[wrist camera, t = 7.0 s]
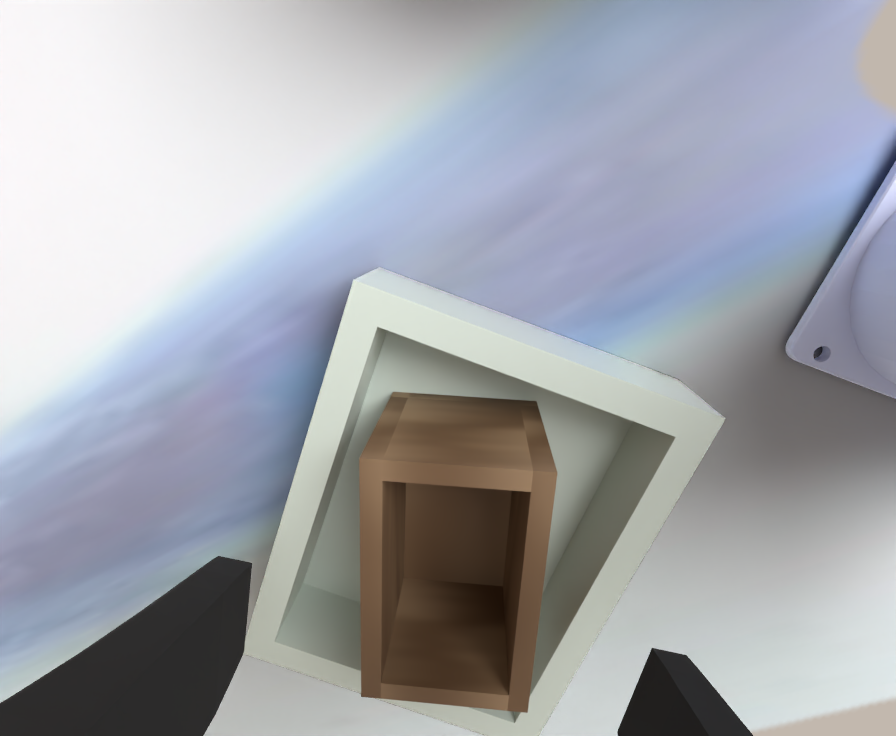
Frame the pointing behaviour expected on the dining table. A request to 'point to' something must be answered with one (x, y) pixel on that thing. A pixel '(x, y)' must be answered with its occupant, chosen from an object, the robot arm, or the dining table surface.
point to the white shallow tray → (576, 495)
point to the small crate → (453, 549)
